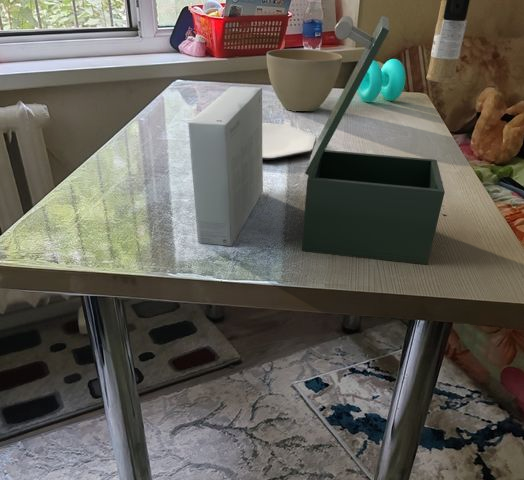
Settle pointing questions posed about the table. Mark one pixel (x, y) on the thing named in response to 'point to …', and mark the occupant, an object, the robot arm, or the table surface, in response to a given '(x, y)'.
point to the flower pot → (302, 76)
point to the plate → (285, 141)
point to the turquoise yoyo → (383, 81)
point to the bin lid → (372, 47)
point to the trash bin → (373, 206)
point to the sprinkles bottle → (446, 47)
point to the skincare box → (226, 163)
